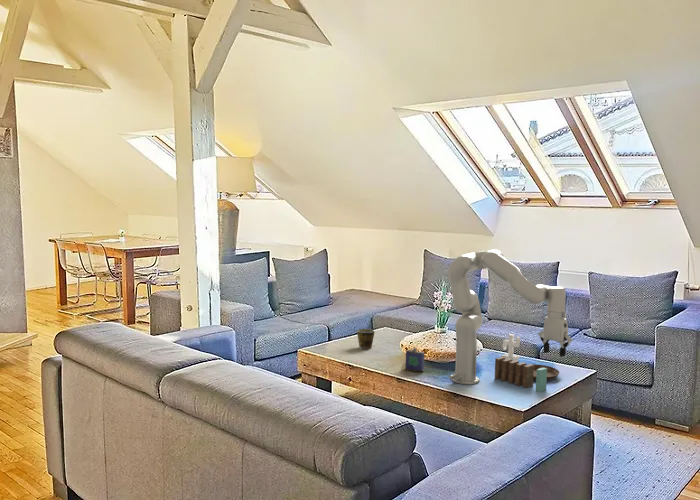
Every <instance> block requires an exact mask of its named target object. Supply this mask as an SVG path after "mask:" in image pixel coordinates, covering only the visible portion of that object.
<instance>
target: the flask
mask: <svg viewBox="0 0 700 500" xmlns="http://www.w3.org/2000/svg"><path fill="white" fill-rule="evenodd" d="M417 349H418V348H417V347H413V349H406V351H405V363H404V364H405V370H406V369H408V370H407V371H410V370H415V371H414V372H417V371H424V372H425V352H424V351H418V350H417Z"/></svg>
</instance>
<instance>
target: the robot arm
mask: <svg viewBox="0 0 700 500" xmlns="http://www.w3.org/2000/svg"><path fill="white" fill-rule="evenodd" d="M485 269H487V270H488V271H490V272H491V273H493V274H494V275H495V276H496V277H498V278H499V279H501V280H502V281H504V282H505V283H506V284H507V285H508V286H509V287H510V288H511V289H512V290H513V291H514V292H515V293H517V295H519V296H520V297H522V298H523V299H525V300H527V301H528V302H529V303H530V304H533V305H539V304H542V303H543V302H547V303H546V307H547V308H546V309H547V310H546V316H545V318H544V323H543V330H542V331H540V332H538V334H537V335H538V337H539V339H540V341H542V344H543V354H546V353H549V352H550V343H549V342H550V341H553V342H559V344H560V345H559V346H560V347H559V357H561V358H562V357H565V356H566V354H567V353H566V351H567V347H568V346H570V344H571V343H572V342H573V338H572V337H571V336H569V327H568V326H569V325H568V321H567V320H568V319H567V317H568V314H567V313H566V300H567V299H566V295H567V294H566V293H567V291H566V288H565V287H563V286H557V285H556V286H555V285H554V286H551V285H545V284H536V285H535V284H534V283H532V282H531V281H530V280H529V279H527V278H526V277H525V276H524V274H522V272H521V270H520V268H519V267H518V266H517V265H515V264H513V263H512V262H510V260H508V259H506V258H505V257H504V254H503V252H502V251H500V250H498V249H490V250H483V251H475V252H474V251H473V252H468V253H464V254H461V255H459V256H458V257H456V258H455V259H454V260H453V261H452V262H451V263H450V265H449V267H448V278H449V285H450V290H451V295H452V301H453V303H452V304H453V306H454V308H455V310H456V311H458V312H460V313H461V316H459V317H458V318H457V320H456V322H455V339H456V341H455V351H456V352H455V371H454V372H453V374H450V375H448V379H449V380H452V381H453V382H455V383H457V384H462V385H474V384H475V385H476V384H478V383H479V382H480V378H479V377H478V376H477V353H478V352H477V351H478V350H477V349H478V343H477V341H478V339H477V331H478V330H480V329H481V327H482V326H483V315H482V310H481V305H480V304H481V303H480V300H479V297H478V295H477V293H476V292H475V291H474V290H472V289H470V283H469V282H470V281H469V280H468V276H467V274H468V273H470V272H474V271H478V270H485Z"/></svg>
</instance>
